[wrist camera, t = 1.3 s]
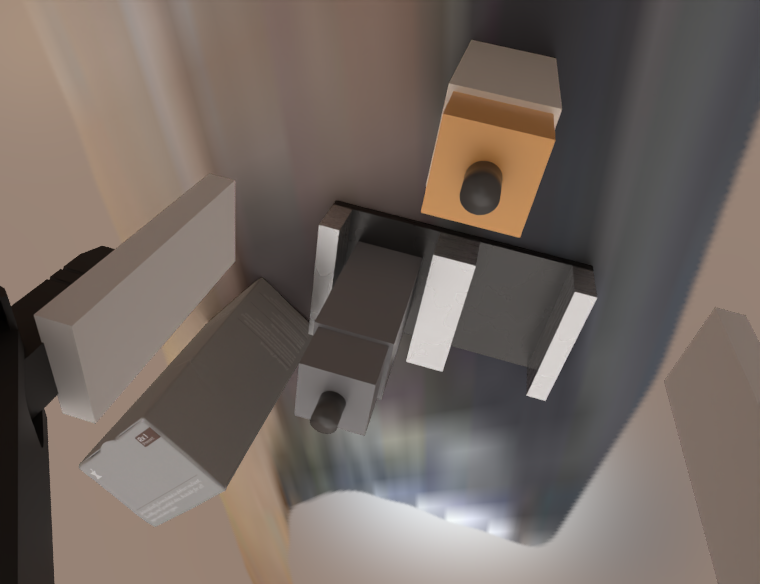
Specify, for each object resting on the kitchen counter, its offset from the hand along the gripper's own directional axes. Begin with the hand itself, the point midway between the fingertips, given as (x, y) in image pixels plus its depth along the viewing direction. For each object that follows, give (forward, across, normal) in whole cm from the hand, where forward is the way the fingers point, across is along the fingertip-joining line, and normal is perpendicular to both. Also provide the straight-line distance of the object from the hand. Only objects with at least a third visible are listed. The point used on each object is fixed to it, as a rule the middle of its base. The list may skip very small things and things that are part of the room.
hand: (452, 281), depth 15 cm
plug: (+19, 0, 0) cm, 19 cm away
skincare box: (+19, -13, -21) cm, 31 cm away
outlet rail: (+19, 0, -13) cm, 23 cm away
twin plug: (+18, -4, -13) cm, 23 cm away
